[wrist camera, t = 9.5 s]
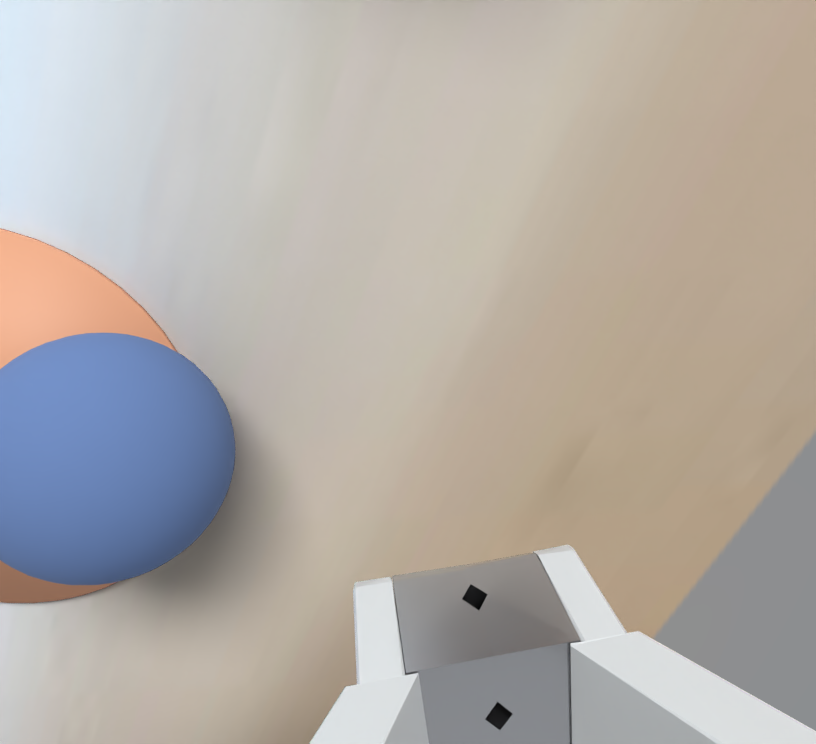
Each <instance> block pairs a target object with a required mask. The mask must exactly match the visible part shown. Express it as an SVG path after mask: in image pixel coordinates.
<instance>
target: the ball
mask: <svg viewBox="0 0 816 744" xmlns="http://www.w3.org/2000/svg"><path fill="white" fill-rule="evenodd" d="M234 462H235V440H234V432H233V427H232V423H231V419H230V415H229V413H228V410H227V408H226V405H225V403H224V401H223V400H222V398H221V396H220V394H219V392H218V391H217V389H216V387H215V386H214V385H213V383H212V382H211V381H210V379H209V378H208V377H207V376H206V375H205V374H204V373H203V372H202V371H201V370H200V369H199V368H198V367H197V366H196V365H195V364H194V363H192V362H191V361H190V360H188V359H187V358H185V357H184V356H183V355H181V354H179V353H177V352H176V351H174V350H172V349H170V348H168V347H166V346H165V345H162V344H160V343H157V342H154V341H152V340H149V339H145V338H141V337H137V336H133V335H128V334H119V333H85V334H78V335H72V336H67V337H64V338H61V339H57V340H54V341H50V342H47V343H44V344H42V345H40V346H37V347H35V348H33V349H30V350H28V351H27V352H25V353H23V354H22V355H20V356H18V357H16V358H15V359H13V360H12V361H10V362H9V363H8V364H6V365H5V366H4V367H3V368H1V369H0V560H1V561H2V562H4V563H5V564H7V565H8V566H10V567H12V568H14V569H16V570H18V571H20V572H22V573H24V574H26V575H28V576H31V577H35V578H38V579H41V580H45V581H49V582H53V583H59V584H66V585H100V584H108V583H114V582H118V581H122V580H125V579H129V578H133V577H136V576H139V575H141V574H144V573H147V572H149V571H151V570H153V569H155V568H157V567H159V566H161V565H163V564H164V563H166V562H168V561H169V560H171V559H172V558H174V557H175V556H177V555H178V554H180V553H181V552H182V551H184V550H185V549H186V548H187V547H188V546H190V545H191V544H192V543H193V542H194V541H195V540H196V539H197V538H198V537H199V536H200V535H201V534H202V533H203V531H204V530H205V529H206V528H207V527H208V525H209V524H210V523H211V521H212V520H213V518H214V517H215V515H216V514H217V512H218V510H219V508H220V506H221V505H222V503H223V501H224V498H225V496H226V494H227V491H228V488H229V485H230V482H231V479H232V474H233V469H234Z"/></svg>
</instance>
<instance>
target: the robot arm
mask: <svg viewBox="0 0 816 744" xmlns="http://www.w3.org/2000/svg"><path fill="white" fill-rule="evenodd" d="M392 578H393V583H392ZM392 578H391V577H385V578H379V579H373V580H366V581H360V582H355V584H354V589H353V598H354V622H355V646H356V670H357V684H356V685H352V686H347V687H345V688H344V689H343V691H342V692H341V694H340V696H339V697H338V699H337V700H336V702H335V703H334V705H333V707H332V708H331V710H330V711H329V713H328V714H327V716H326V718H325V719H324V721H323V722H322V724H321V726H320V727H319V729H318V730H317V732H316V733H315V735H314V737H313V738H312V740H311V741H310V743H309V744H816V731H815V730H813V729H811V728H809V727H808V726H806V725H804V724H802V723H800V722H799V721H797V720H795V719H793V718H792V717H790V716H788V715H786V714H785V713H783V712H781V711H779V710H777V709H775V708H774V707H772V706H770V705H769V704H767V703H765V702H763V701H761V700H760V699H758V698H756V697H754V696H753V695H751V694H749V693H747V692H746V691H744V690H742V689H740V688H739V687H737V686H735V685H733V684H731V683H730V682H728V681H726V680H724V679H723V678H720V677H719V676H717V675H716V674H714V673H712V672H710V671H708V670H707V669H705V668H703V667H701V666H700V665H698V664H696V663H694V662H693V661H691V660H689V659H687V658H685V657H684V656H682V655H680V654H678V653H677V652H675V651H673V650H671V649H670V648H668V647H666V646H664V645H662V644H660V643H659V642H657V641H655V640H654V639H652V638H650V637H648V636H647V635H645V634H643V633H641V632H639V631H637V632H631V633H627V632H626V630H625V629H624V627H623V626H622V624H621V622H620V621H619V619H618V618H617V616H616V614H615V613H614V611H613V610H612V608H611V607H610V605H609V603H608V602H607V600H606V599H605V597H604V595H603V594H602V592H601V591H600V589H599V588H598V586H597V584H596V583H595V581H594V580H593V578H592V576H591V575H590V573H589V572H588V570H587V568H586V567H585V565H584V564H583V562H582V561H581V559H580V557H579V556H578V554H577V553H576V551H575V549H574V548H572V547H571V546H569V545H563V546H558V547H553V548H548V549H543V550H538V551H533V553H527V554H522V555H516V556H511V557H505V558H500V559H494V560H489V561H483V562H478V563H472V564H467V565H460V566H454V567H447V568H441V569H434V570H427V571H421V572H414V573H408V574H401V575H395V576H392ZM393 586H394V589H393ZM394 594H395V595H394ZM395 601H396V602H395Z"/></svg>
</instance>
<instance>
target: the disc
mask: <svg viewBox="0 0 816 744" xmlns="http://www.w3.org/2000/svg"><path fill="white" fill-rule="evenodd" d="M85 333H119V334H128V335H133V336H137V337H141V338H145V339H149V340H152V341H154V342H157V343H160V344H162V345H165V346H166V347H168V348H170V349H172V350H174V351H176V349H175V348H174V346H173V345H172V343H171V342H170V340H169V339H168V337H167V336H166V334H165V333H164V331H163V330H162V329H161V328H160V327H159V325H158V324H157V323H156V322H155V321H154V320H153V319H152V317H151V316H150V315H149V314H148V313H147V312H146V310H145V309H144V308H143V307H142V306H141V305H139V304H138V303H137V302H136V301H135V300H134V299H133V298H132V297H131V296H130V295H129V294H127V293H126V292H125V291H124V290H123V289H122V288H121V287H120V286H118V285H117V284H115V283H114V282H113V281H111V280H110V279H109V278H107V277H106V276H104V275H103V274H102V273H100V272H99V271H98V270H96V269H95V268H93V267H91V266H90V265H88V264H86V263H84V262H83V261H81V260H79V259H77V258H76V257H74V256H72V255H70V254H69V253H67V252H65V251H62V250H60V249H58V248H55V247H53V246H51V245H48V244H46V243H44V242H42V241H39V240H37V239H34V238H31V237H27V236H24V235H21V234H18V233H14V232H11V231H8V230H5V229H0V369H1V368H3V367H4V366H5V365H6V364H8V363H9V362H10V361H12V360H13V359H15V358H16V357H18V356H20V355H22V354H23V353H25V352H27V351H28V350H30V349H33V348H35V347H37V346H40V345H42V344H44V343H47V342H50V341H54V340H57V339H61V338H64V337H67V336H72V335H78V334H85ZM176 352H177V351H176ZM177 353H178V352H177ZM114 583H116V582H114ZM114 583H108V584H100V585H66V584H59V583H53V582H49V581H45V580H41V579H38V578H35V577H31V576H28V575H26V574H24V573H22V572H20V571H18V570H16V569H14V568H12V567H10V566H8V565H7V564H5V563H4V562H2V561H1V560H0V602H5V603H37V602H47V601H57V600H62V599H67V598H72V597H77V596H81V595H85V594H88V593H91V592H94V591H97V590H100V589H103V588H106V587H108V586H110V585H112V584H114Z"/></svg>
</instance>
